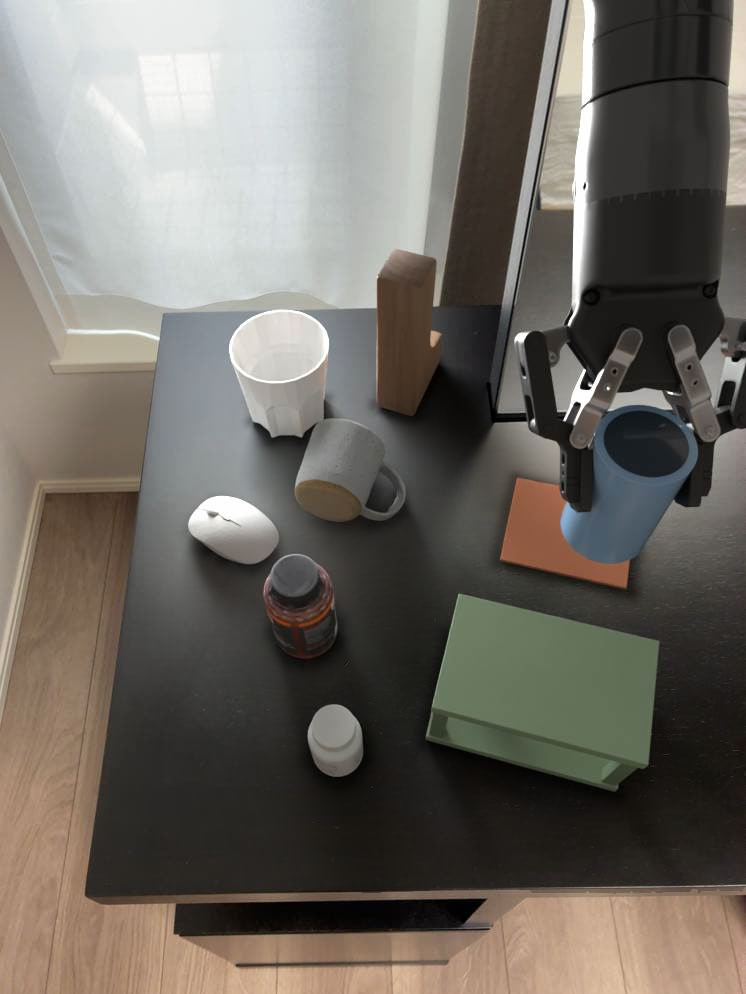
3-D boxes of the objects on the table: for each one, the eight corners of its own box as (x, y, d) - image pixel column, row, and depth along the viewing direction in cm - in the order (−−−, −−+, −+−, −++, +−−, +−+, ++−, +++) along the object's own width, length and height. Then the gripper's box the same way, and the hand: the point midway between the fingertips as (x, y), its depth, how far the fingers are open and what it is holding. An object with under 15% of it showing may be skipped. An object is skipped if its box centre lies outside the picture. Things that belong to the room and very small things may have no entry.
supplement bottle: (350, 619, 71) (345, 562, 61) (317, 672, 68) (307, 621, 59) (296, 591, 73) (284, 531, 63) (262, 642, 70) (244, 587, 60)
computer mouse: (217, 493, 79) (212, 476, 76) (292, 538, 76) (290, 523, 73) (180, 534, 77) (173, 518, 74) (256, 582, 73) (252, 567, 71)
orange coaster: (635, 504, 76) (636, 502, 76) (625, 589, 71) (626, 588, 71) (516, 479, 78) (517, 477, 78) (499, 561, 73) (500, 559, 73)
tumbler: (650, 501, 50) (701, 414, 43) (643, 572, 48) (696, 494, 40) (566, 483, 51) (600, 395, 44) (554, 553, 49) (588, 472, 41)
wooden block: (403, 351, 88) (409, 216, 72) (440, 361, 87) (454, 226, 71) (375, 406, 84) (374, 277, 68) (413, 418, 83) (421, 288, 67)
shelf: (626, 680, 67) (659, 641, 59) (614, 792, 62) (648, 765, 54) (449, 636, 70) (458, 593, 62) (425, 739, 65) (431, 707, 57)
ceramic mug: (293, 517, 77) (286, 474, 70) (316, 454, 81) (311, 408, 74) (394, 540, 75) (397, 498, 69) (412, 475, 79) (417, 429, 72)
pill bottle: (351, 718, 66) (348, 689, 59) (371, 765, 64) (370, 740, 57) (304, 738, 65) (296, 710, 59) (323, 785, 63) (317, 763, 57)
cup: (332, 445, 81) (326, 382, 73) (240, 445, 82) (224, 383, 73) (334, 375, 86) (330, 309, 78) (248, 376, 87) (234, 310, 78)
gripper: (528, 191, 36) (525, 529, 41) (828, 173, 36) (793, 515, 40) (498, 216, 44) (498, 500, 48) (747, 201, 43) (725, 488, 48)
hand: (633, 506), depth 44 cm, fingers closed on tumbler, 5 cm apart
